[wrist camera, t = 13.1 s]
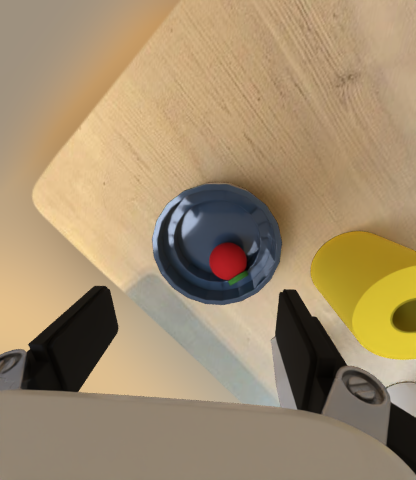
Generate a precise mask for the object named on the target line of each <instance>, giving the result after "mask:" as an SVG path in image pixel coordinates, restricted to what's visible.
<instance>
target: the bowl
mask: <svg viewBox="0 0 416 480" xmlns="http://www.w3.org/2000/svg"><path fill="white" fill-rule="evenodd" d="M152 242H153V253H154V258H155V261H156V263H157V265H158V268H159V270H160V272H161V274H162V276H163V277H164V278H165V279H166V280H167V281H168V283H169V284H170V285H171V286H172V287H173V288H174V289H175V290H177V291H178V292H180V293H181V294H183V295H184V296H186V297H187V298H190V299H193V300H195V301H198V302H201V303H204V304H216V305H226V304H231V303H235V302H240V301H243V300H245V299H246V298H248V297H250V296H252V295H254V294H256V293H258V292H259V291H260V290H261V289H262V288H263V287H264V286H265V285H266V284H267V283H268V282H269V281H270V280H271V278H272V276H273V274H274V272H275V270H276V268H277V266H278V265H279V262H280V256H281V248H282V240H281V235H280V231H279V226H278V223H277V221H276V220H275V218H274V216H273V215H272V213H271V212H270V210H269V208H268V207H267V206H266V204H264V203H263V202H262V201H261V200H259V199H258V198H257V197H256V196H254V195H253V194H252V193H250V192H249V191H248V190H247V189H245V188H243V187H240V186H237V185H234V184H231V183H227V182H208V183H205V184H202V185H199V186H196V187H193V188H190V189H187V190H185V191H183V192H182V193H181V194H179V195H178V196H177V197H175V198H174V199H173V200H171V201H170V202H169V203H168V204H167V205H166V207H165V208H164V210H163V211H162V213H161V214H160V216H159V217H158V219H157V221H156V225H155V229H154V233H153V237H152ZM222 243H234V244H236V245H238V246H239V247H241V248H242V250H243V251H244V253H245V255H246V258H247V265H246V268H245V271H247V272H248V274H249V275H248V276H246V277H245V278H243V279H242V280H240V281H238V282H237V283H235V284H233V285H231V286H230V285H229V283H228V281H229V280H224V279H221V278H219V277H217V276H216V275H215V274H214V273H213V272H212V270H211V268H210V264H209V258H210V255H211V252H212V251H213V249H214V248H215V247H216V246H218V245H220V244H222Z"/></svg>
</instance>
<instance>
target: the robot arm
mask: <svg viewBox="0 0 416 480" xmlns="http://www.w3.org/2000/svg"><path fill="white" fill-rule="evenodd" d="M117 332H118V323H117V319H116V315H115V310H114V305H113V301H112V297H111V293H110V290H109V289H108V288H107V287H106V286H94V287H93V288H92V289H90V290H89V291H88V292H87V293H86V294H85V295H84V296H83V297H82V298H80V299H79V300H78V301H77V302H76V303H75V304H74V305H72V306H71V307H70V308H69V309H68V310H67V311H66V312H64V313H63V314H62V315H61V316H60V317H59V318H57V319H56V321H54V322H53V323H52V324H51V325H50V326H49V327H47V328H46V329H45V330H44V331H43V332H42V333H40V334H39V335H38V336H37V337H36V338H35V339H34V340H33V341H31V342H30V343H29V344H28V345H29V347H30V350H29V351H28V352H26V351H25V350H22V349H16V350H12V351H8V352H5V353H3V354H1V355H0V480H416V417H414V416H412V415H411V414H409V413H408V412H406V411H404V410H403V409H401V408H400V407H398V406H397V405H395V404H393V403H392V402H391V400H390V395H389V393H388V391H387V389H386V388H385V386H384V385H383V384H382V383H381V382H380V381H379V380H378V379H377V378H376V377H375V376H373V375H372V374H370V373H369V372H367V371H365V370H363V369H361V368H358V367H354V366H347V364H346V363H345V361H344V359H343V358H342V356H341V355H340V353H339V351H338V350H337V348H336V347H335V345H334V343H333V342H332V340H331V339H330V337H329V336H328V334H327V332H326V331H325V329H324V328H323V326H322V324H321V323H320V321H319V320H318V319H317V317H312V316H311V314H310V313H309V311H308V309H307V308H306V306H305V304H304V303H303V301H302V299H301V298H300V296H299V294H298V293H297V291H296V290H286V289H284V290H283V292H280V294H279V303H278V312H277V322H276V331H275V336H276V341H277V345H278V348H279V351H280V354H281V358H282V361H283V364H284V368H285V371H286V374H287V378H288V381H289V384H290V387H291V391H292V394H293V397H294V401H295V404H296V407H297V410H296V409H289V408H282V407H271V406H261V405H250V404H239V403H225V402H213V401H199V400H186V399H171V398H157V397H144V396H129V395H114V394H97V393H82V392H78V391H79V390H80V388H81V387H82V385H83V384H84V382H85V381H86V379H87V378H88V376H89V374H90V373H91V372H92V370H93V369H94V367H95V366H96V364H97V363H98V361H99V360H100V358H101V357H102V355H103V354H104V352H105V351H106V349H107V348H108V346H109V345H110V343H111V342H112V340H113V339H114V337H115V336H116V334H117Z"/></svg>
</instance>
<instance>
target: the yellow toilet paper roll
mask: <svg viewBox="0 0 416 480" xmlns="http://www.w3.org/2000/svg"><path fill="white" fill-rule="evenodd" d="M311 278H312V281H313V283H314V285H315V286H316V288H317V289H318V290H319V292H320V293H321V294H322V295H323V297H324V298H325V299H326V300H327V302H328V303H329V304H330V306H331V307H332V308H333V309H334V311H335V312H336V313H337V314H338V316H339V317H340V318H341V320H342V321H343V322H344V323H345V325H346V326H347V327H348V329H349V330H350V331H351V332H352V334H353V335H354V336H355V337H356V339H357V340H358V341H359V343H360V344H361V345H362V346H363V347H364V348H366V349H367V350H369V351H370V352H372V353H374V354H376V355H379V356H382V357H385V358H390V359H400V360H407V359H416V251H414V250H412V249H409V248H407V247H404V246H402V245H400V244H397V243H395V242H392V241H390V240H387V239H385V238H383V237H380V236H378V235H375V234H373V233H369V232H363V231H354V232H348V233H344V234H341V235H338V236H336V237H334V238H332V239H331V240H329V241H328V242H326V243H325V244H324V245H323V246H322V247H321V248H320V249H319V250H318V252H317V253H316V255H315V257H314V259H313V261H312V265H311Z"/></svg>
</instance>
